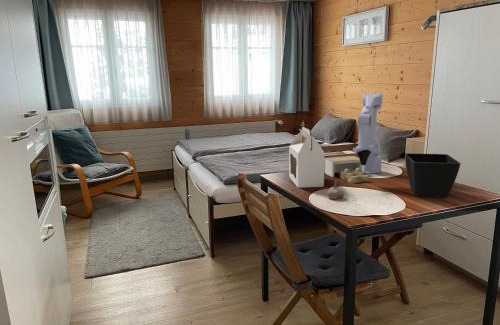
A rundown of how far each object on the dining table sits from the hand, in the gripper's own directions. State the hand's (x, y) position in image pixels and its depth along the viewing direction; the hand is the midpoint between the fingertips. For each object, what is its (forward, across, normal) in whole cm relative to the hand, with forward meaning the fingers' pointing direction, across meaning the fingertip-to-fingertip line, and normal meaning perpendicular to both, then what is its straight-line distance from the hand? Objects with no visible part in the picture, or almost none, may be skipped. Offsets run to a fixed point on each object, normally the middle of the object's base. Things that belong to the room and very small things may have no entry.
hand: (363, 164), depth 191 cm
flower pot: (+10, -9, +30) cm, 33 cm away
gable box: (+10, +20, -21) cm, 30 cm away
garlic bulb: (+10, +29, +8) cm, 31 cm away
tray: (+10, -3, -7) cm, 12 cm away
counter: (+10, -8, -20) cm, 23 cm away
